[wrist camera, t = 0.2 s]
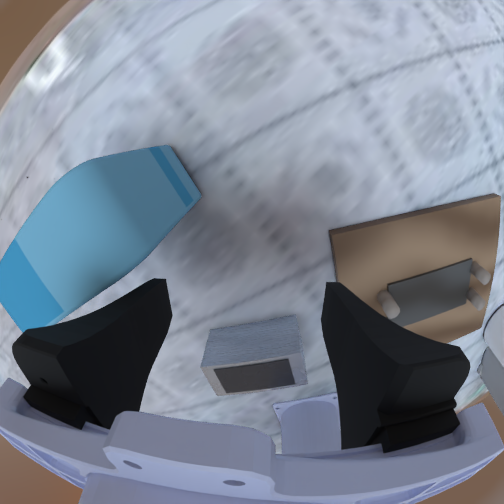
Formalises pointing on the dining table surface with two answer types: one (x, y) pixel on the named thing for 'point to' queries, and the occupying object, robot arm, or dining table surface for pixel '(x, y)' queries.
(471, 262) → the pin tray
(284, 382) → the block
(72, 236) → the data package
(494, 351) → the can
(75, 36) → the dining table surface
